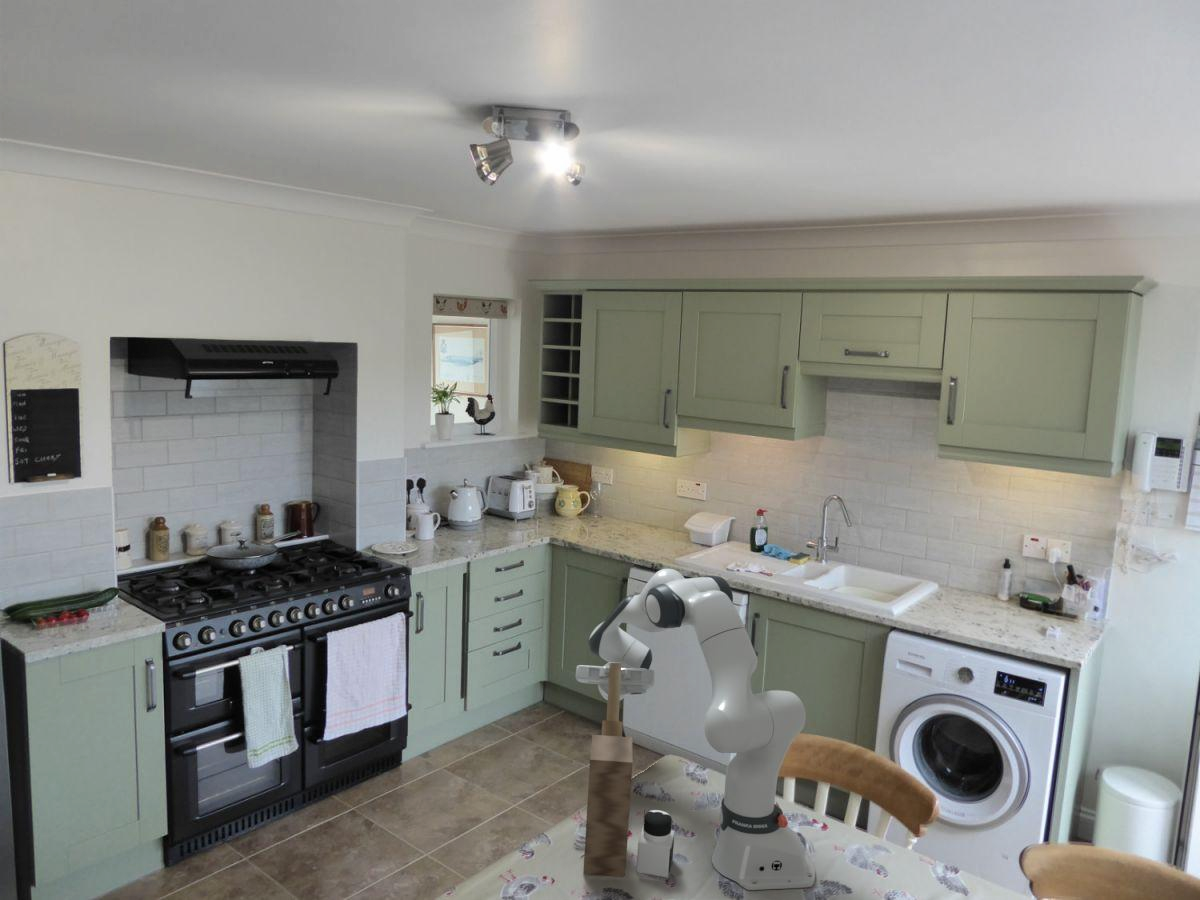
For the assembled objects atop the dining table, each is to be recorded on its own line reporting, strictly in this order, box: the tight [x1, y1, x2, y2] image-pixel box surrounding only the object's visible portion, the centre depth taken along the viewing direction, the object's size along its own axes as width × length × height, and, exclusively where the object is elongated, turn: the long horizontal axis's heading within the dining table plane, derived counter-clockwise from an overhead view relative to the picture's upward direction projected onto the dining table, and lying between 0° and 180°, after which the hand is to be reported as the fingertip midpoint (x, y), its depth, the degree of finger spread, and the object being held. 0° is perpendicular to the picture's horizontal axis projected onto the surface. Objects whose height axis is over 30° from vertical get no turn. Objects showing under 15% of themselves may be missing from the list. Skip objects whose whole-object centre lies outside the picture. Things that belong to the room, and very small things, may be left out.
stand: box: [582, 734, 634, 878], centre depth 191 cm, size 9×12×26 cm
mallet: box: [601, 663, 624, 737], centre depth 216 cm, size 5×20×4 cm
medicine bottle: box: [636, 809, 675, 879], centre depth 191 cm, size 7×7×12 cm
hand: (615, 671), depth 218 cm, fingers closed on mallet, 3 cm apart
